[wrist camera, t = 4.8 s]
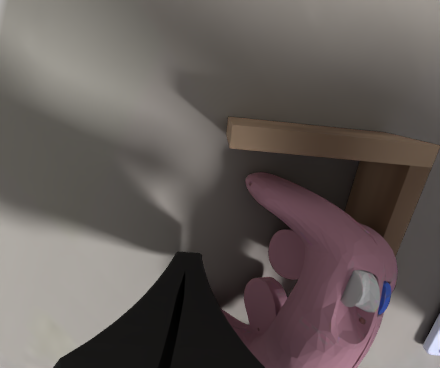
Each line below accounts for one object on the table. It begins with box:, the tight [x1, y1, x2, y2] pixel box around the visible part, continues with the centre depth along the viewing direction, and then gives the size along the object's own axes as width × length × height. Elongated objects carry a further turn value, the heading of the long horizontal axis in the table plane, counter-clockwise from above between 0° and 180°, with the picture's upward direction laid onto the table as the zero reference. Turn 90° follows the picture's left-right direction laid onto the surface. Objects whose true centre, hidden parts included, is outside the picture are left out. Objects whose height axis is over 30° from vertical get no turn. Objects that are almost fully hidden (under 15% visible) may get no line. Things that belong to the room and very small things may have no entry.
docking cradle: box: [226, 117, 440, 257], centre depth 12 cm, size 7×15×3 cm, turn 174°
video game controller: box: [221, 172, 398, 368], centre depth 11 cm, size 10×5×7 cm, turn 158°
